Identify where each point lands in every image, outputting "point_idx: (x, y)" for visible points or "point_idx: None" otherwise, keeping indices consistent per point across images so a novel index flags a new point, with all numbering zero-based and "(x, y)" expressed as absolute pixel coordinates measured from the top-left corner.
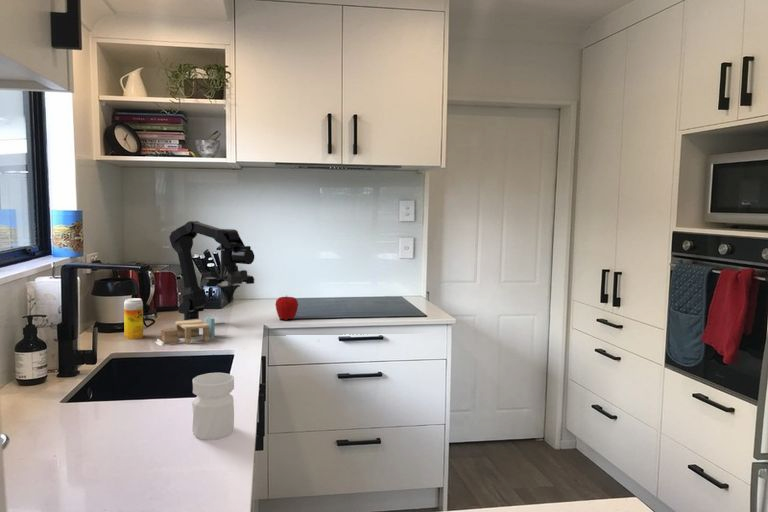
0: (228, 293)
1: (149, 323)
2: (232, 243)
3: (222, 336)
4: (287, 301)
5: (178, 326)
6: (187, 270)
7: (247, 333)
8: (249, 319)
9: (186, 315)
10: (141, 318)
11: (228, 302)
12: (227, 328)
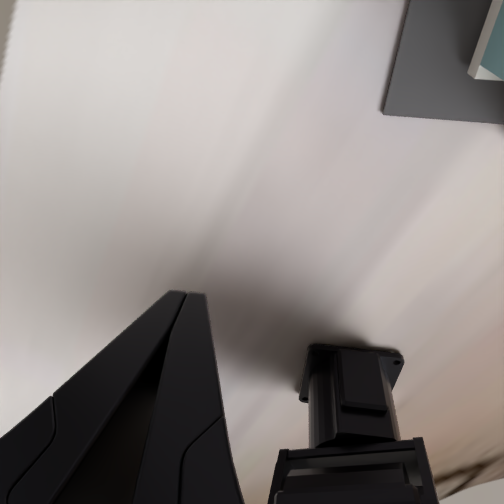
0: (159, 449)
1: (439, 487)
2: None
3: (331, 70)
4: None
5: None
6: None
7: (106, 41)
8: (20, 351)
9: (400, 439)
10: None
11: (198, 296)
12: (191, 262)
